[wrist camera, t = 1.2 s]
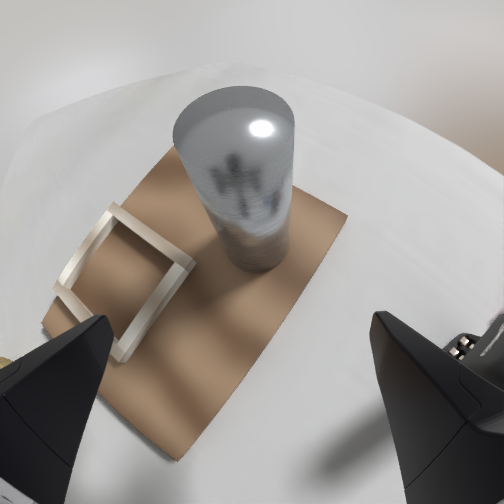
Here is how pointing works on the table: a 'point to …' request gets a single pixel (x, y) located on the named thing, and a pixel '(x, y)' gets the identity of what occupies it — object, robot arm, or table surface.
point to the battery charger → (482, 352)
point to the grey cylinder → (242, 170)
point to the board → (181, 302)
